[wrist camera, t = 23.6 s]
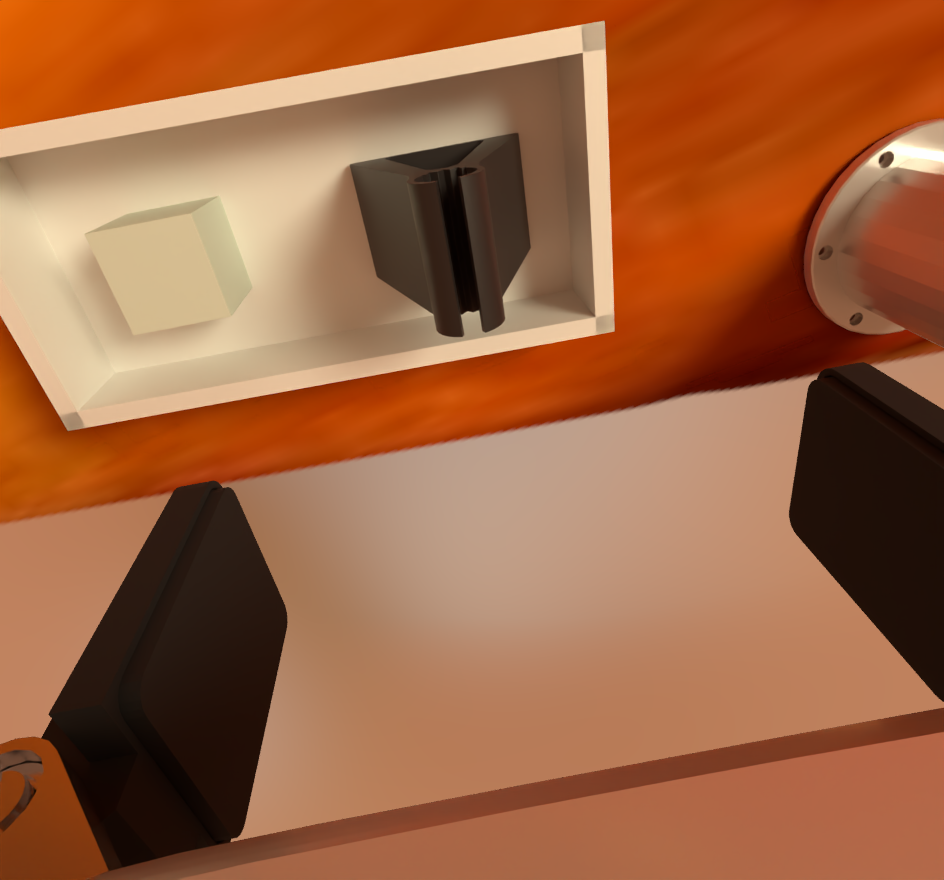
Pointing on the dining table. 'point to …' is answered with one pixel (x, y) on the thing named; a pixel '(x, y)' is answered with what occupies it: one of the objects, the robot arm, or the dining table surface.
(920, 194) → the robot arm
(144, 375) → the tote
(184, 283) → the beige cube
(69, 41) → the dining table surface
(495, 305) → the phone stand
